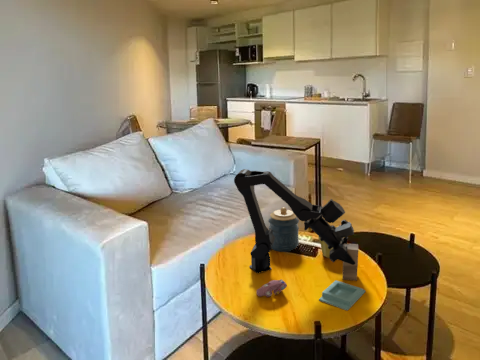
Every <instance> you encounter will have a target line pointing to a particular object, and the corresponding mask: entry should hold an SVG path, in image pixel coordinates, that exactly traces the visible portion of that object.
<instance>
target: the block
mask: <svg viewBox="0 0 480 360" xmlns="http://www.w3.org/2000/svg"><path fill="white" fill-rule="evenodd" d="M344 245H345V247H346V246H347V252H348V253H349V255H350V256H351V257H352V259H353V260H354V261H355V264H354V265H352V264H349V263H346V262H344V261H342V280H344V281H356V282H357V280H358V266H359V244H358V243H348V244H346V243H344Z"/></svg>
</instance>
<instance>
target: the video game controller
mask: <svg viewBox="0 0 480 360" xmlns="http://www.w3.org/2000/svg"><path fill="white" fill-rule="evenodd" d="M287 287H288V285H287V283H286V282H285V280H283V279H277V280H276V279H274V280H270V281H268V282H267V283H265V284H263V285H262V286H260V287H259V288H257V289H256V296H258V297H263V296H265V297H266V298H269V297H271V296H272V295H273V294H274V295H276V296H277V295H279V294H280V293H281V292H282V291H283V290H286V288H287Z"/></svg>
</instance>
